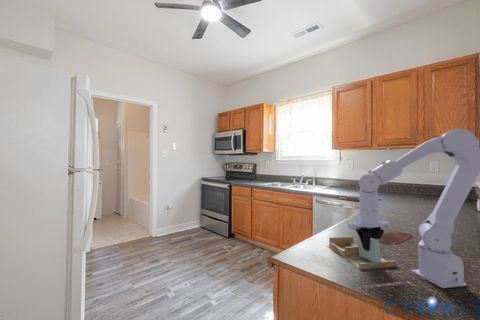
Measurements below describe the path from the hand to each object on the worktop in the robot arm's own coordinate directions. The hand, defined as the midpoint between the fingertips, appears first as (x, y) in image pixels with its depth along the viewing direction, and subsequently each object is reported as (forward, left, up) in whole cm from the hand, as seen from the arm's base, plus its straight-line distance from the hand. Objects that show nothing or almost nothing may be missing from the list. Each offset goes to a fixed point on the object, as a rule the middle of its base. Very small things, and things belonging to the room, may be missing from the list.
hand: (369, 249), depth 74 cm
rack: (+6, 0, -5) cm, 8 cm away
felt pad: (0, 0, -5) cm, 5 cm away
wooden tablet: (+21, -28, -6) cm, 36 cm away
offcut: (+12, -3, -4) cm, 13 cm away
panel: (0, 0, -3) cm, 3 cm away
